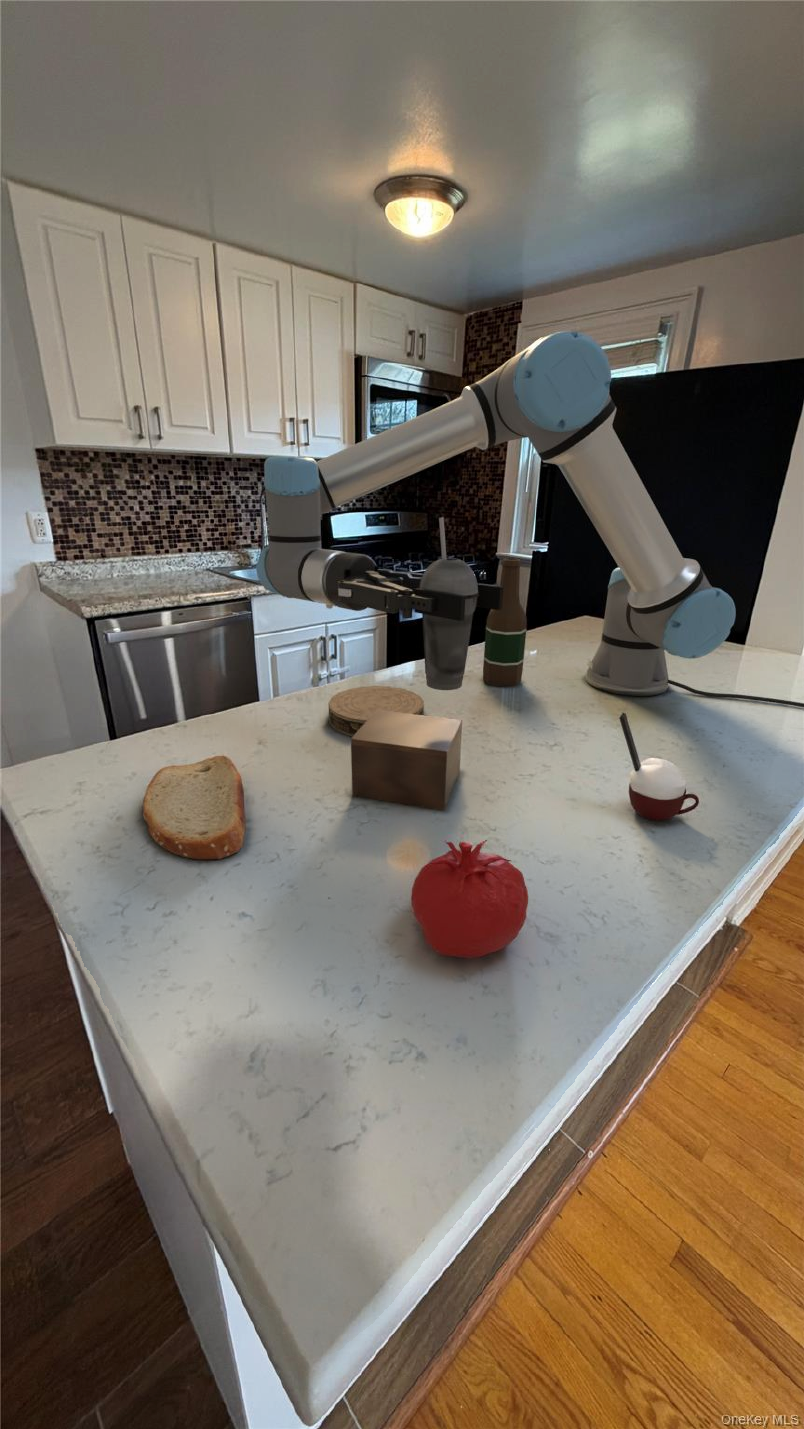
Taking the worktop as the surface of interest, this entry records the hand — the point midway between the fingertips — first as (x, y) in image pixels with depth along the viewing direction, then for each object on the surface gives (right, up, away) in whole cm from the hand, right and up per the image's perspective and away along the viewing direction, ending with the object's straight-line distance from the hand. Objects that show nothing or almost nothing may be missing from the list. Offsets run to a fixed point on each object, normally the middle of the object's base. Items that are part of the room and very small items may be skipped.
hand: (482, 603), depth 65 cm
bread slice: (-33, -24, +4) cm, 41 cm away
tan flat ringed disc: (-14, -14, +31) cm, 36 cm away
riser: (-8, -22, +10) cm, 26 cm away
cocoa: (+21, -25, +5) cm, 33 cm away
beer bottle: (+11, -6, +50) cm, 51 cm away
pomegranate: (-4, -32, -14) cm, 35 cm away
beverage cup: (-4, -9, +7) cm, 12 cm away
